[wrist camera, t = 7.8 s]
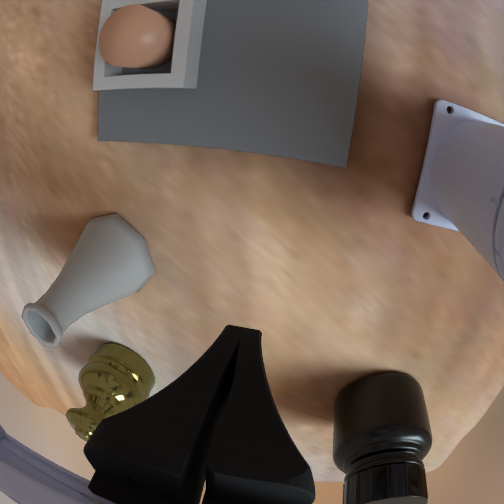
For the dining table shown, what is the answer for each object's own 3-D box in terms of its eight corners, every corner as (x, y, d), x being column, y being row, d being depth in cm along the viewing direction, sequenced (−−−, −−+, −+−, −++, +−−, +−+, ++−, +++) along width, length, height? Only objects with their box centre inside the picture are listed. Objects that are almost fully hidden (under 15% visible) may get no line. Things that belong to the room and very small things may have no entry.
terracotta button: (183, 12, 14) (160, 0, 12) (176, 68, 16) (153, 64, 13) (130, 18, 15) (102, 9, 12) (124, 70, 16) (95, 69, 14)
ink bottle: (335, 429, 30) (329, 528, 20) (323, 379, 27) (315, 501, 16) (422, 414, 27) (436, 512, 17) (428, 359, 24) (456, 478, 13)
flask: (114, 301, 27) (52, 376, 18) (69, 235, 25) (-10, 295, 16) (171, 275, 25) (106, 364, 16) (120, 196, 22) (27, 257, 14)
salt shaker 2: (165, 368, 30) (124, 447, 21) (146, 398, 33) (111, 465, 25) (103, 329, 29) (49, 399, 20) (93, 364, 33) (50, 426, 24)
